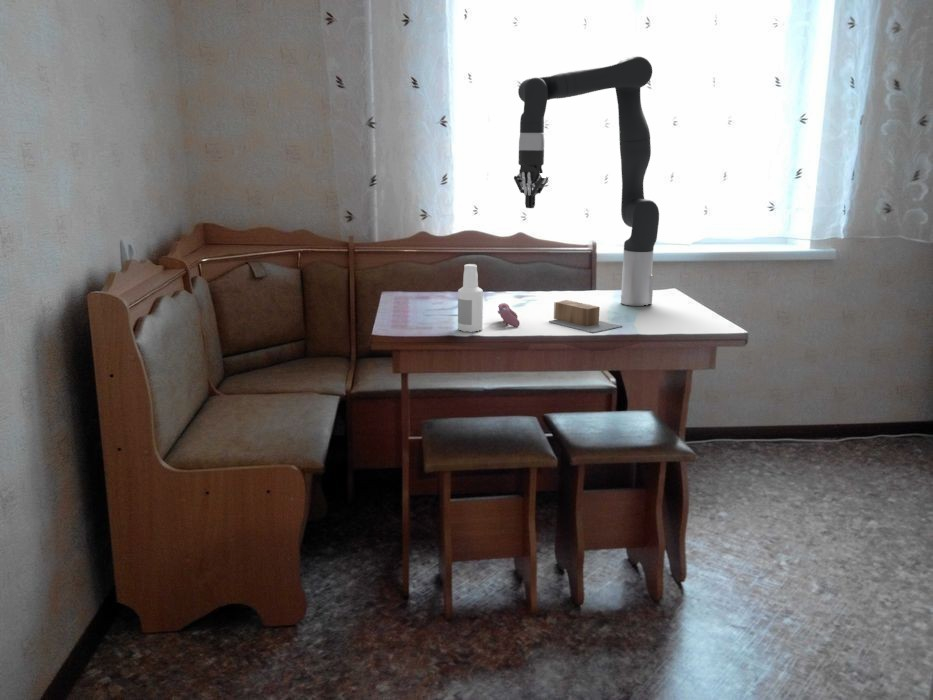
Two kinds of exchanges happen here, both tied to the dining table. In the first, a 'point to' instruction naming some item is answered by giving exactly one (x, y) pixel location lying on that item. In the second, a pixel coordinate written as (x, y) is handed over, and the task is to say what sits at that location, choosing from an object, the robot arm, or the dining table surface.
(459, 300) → the spray bottle
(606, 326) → the rubber mat
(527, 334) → the dining table surface
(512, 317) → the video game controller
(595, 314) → the walnut block
